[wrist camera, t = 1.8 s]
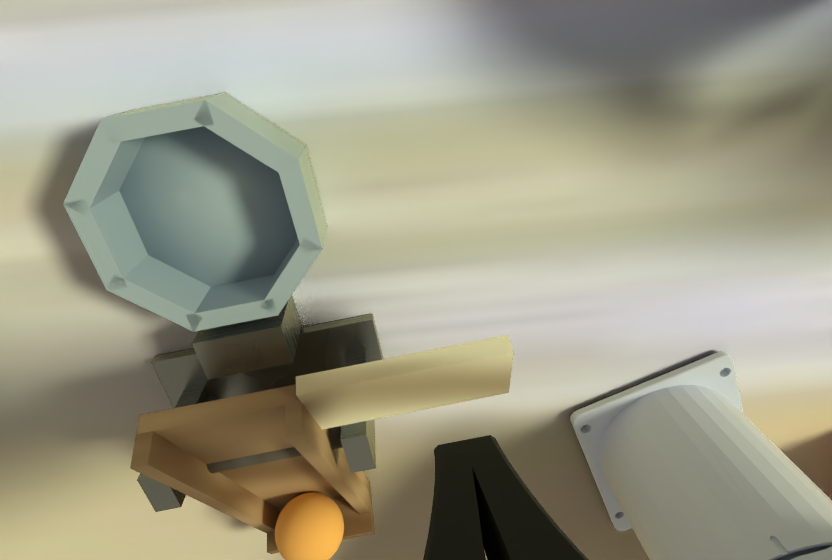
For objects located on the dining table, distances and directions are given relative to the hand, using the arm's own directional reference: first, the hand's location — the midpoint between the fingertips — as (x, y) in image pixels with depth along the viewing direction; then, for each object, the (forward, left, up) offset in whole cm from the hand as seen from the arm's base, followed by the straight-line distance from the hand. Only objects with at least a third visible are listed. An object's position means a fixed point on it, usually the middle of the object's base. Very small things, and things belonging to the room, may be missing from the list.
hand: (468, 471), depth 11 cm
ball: (-7, +9, -7) cm, 14 cm away
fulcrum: (-2, +7, -10) cm, 13 cm away
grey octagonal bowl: (+6, +5, -10) cm, 13 cm away
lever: (-4, +5, -7) cm, 9 cm away
